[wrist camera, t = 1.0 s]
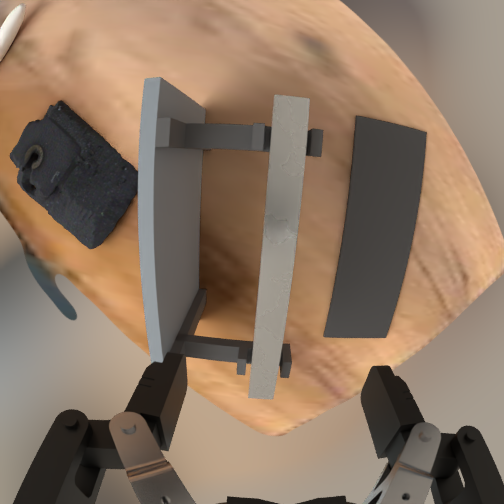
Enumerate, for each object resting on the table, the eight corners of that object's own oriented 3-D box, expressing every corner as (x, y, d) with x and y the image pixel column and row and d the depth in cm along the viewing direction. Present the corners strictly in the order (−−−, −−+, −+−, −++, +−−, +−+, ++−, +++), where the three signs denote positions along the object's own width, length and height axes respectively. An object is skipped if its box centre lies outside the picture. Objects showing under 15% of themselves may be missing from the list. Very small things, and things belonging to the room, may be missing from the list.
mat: (355, 116, 31) (356, 115, 30) (424, 132, 31) (426, 132, 30) (323, 335, 41) (324, 337, 40) (384, 336, 40) (385, 337, 40)
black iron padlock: (97, 260, 39) (81, 273, 35) (15, 174, 35) (-4, 178, 31) (152, 177, 35) (137, 181, 30) (56, 93, 31) (36, 90, 26)
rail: (273, 102, 20) (274, 94, 18) (304, 105, 20) (309, 98, 18) (249, 377, 29) (248, 397, 26) (272, 379, 29) (273, 399, 26)
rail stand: (196, 109, 32) (144, 78, 16) (302, 115, 31) (332, 84, 16) (191, 319, 41) (157, 399, 25) (279, 327, 40) (285, 413, 25)
